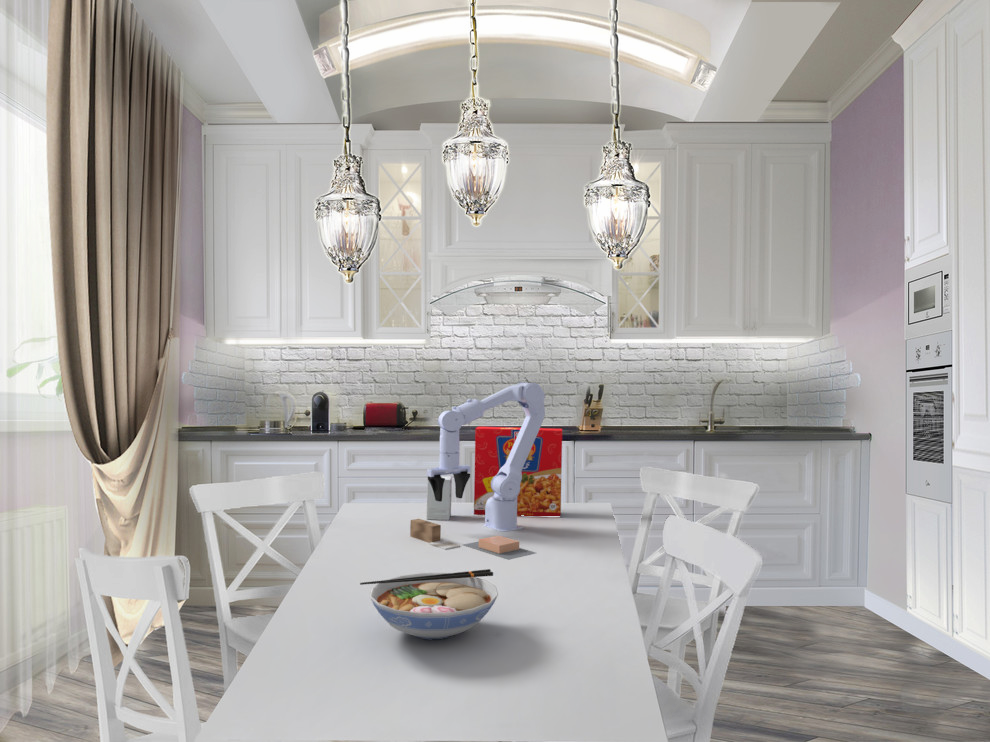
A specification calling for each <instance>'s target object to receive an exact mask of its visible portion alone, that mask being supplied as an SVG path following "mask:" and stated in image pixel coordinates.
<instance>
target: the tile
mask: <svg viewBox="0 0 990 742" xmlns="http://www.w3.org/2000/svg"><path fill="white" fill-rule="evenodd" d="M478 541H479V547H480V548H482V549H485V550H488V551H492V552H495V553H498V554H502V553H506V552H511V551H515V550H518V549H519V548H520V540H516V539H512V538H509V537H506V536H502V535H493V536H490V537H483V538H478Z"/></svg>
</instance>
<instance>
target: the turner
mask: <svg viewBox="0 0 990 742" xmlns="http://www.w3.org/2000/svg"><path fill="white" fill-rule="evenodd" d="M409 526H410V527H409V528H410V529H409V530H410V533H409V534H410V535H409V537H410V538H414V539H416V540H420V541H423V542H426V543H428V545H429V546H432V547H435V548H439V549H442V550H445V551H446V550H451V549H455V548H460V547H461V544H457V543H454V542H450V541H448V540H444V539H442V540H441V535H442V534H441V531H442V530H441V529H442V528H441V527H442V526H441V524H439V523H434V522H431V521H427V520H425V519H421V518H416V519H410V525H409Z"/></svg>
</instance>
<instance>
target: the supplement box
mask: <svg viewBox="0 0 990 742" xmlns="http://www.w3.org/2000/svg"><path fill="white" fill-rule="evenodd" d="M440 476H441V478H445V481H444V484H443V491H442V501H441V502H439V501H435V496H434V492H433V489H432V486H431V484H430V482H429V480H428V479H427V481H426V482H427V484H426V520H434V521H435V520H436V521H441V520H442V521H449V520H450V517H451V515H452V483H453V477H452V476H450V475H449V476H447V475H440Z"/></svg>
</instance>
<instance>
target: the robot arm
mask: <svg viewBox="0 0 990 742" xmlns="http://www.w3.org/2000/svg"><path fill="white" fill-rule="evenodd" d="M545 399H546V394H545V392H544V391H543V389H542V386H540V384H538V383H537V382H525V381H521V382H518V383H517V384H512V385H509V386H507V387H504V388H503V389H501V390H499V391H497V392H495V393H493V394H491V395H489V396H487V397H485V398H482V399H481V400H479V399H477V398H473V399H472V398H468V399H466V402H465V403H462V404H460V405H458V406H454V405H453V406H451V409H452V410H444V411H443V412H440V415H439V416H438V419H437V425H438V427H439V428H440V429H439V430H440V431H439V466H438V467H433V468H428V469H427V470H426V477H427V480H429V482H430V484H431V486H432V489H433V492H434V496H435V501H439V502H441V501H442V491H443V484H444V481H445V478H441V476H447V475H453V478H454V479H453V481H454V484H455V492H454V493H455V498H457V499H463V495H464V492H465V489H466V486H467V484H468V481H469V480H470V478H471V465H469V464H465V465H462V464H461V465H460V440H461V439H460V429H461V428H462V427H463V426H465V425H467V424H470V423H472V422H474V421H476V420H478V419H480V418H483V416H484V415H485V412H486V411H487V410H491V409H492V408H495V407H497V406H499V405H501V404H505V403H507V402H510V401H512V402H517V403H518V404H519V405H520V406H521V407H522V409H523V412H524V414H525V417H524V420H523V422H522V425H521V427H520V428H521V429H520V431H519V434H518V436H517V438H516V440H515V443H514V445H513V447H512V450H511V452H510V454H509V456H508V459H507V461H506V463H505V465H503V466H502V467H501V468H500V470H499V472H498V474H497V475H496V476H494V478H493V479H492V481H491V488H492V490H493V491H494V492H495V493H494V496H493V497H490V498H489V499H488V500H487V502H486V506H485V515H484V518H485V519H484V524H483V525H482V526H483V527H485V528H489V529H492V530H495V531H499V532H503V533H505V532H509V531H515V530H523V529H524V527H523V526H521V525H518V522H517V521H518V516H517V496H518V494H519V492H520V483H521V480H522V472H521V471H522V468H523V466H524V464H525V461H526V459H527V457H528V455H529V452H530V450H531V448H532V445H533V443H534V441H535V438H536V436H537V434H538V432H539V429H540V428H542V425H543V422H544V420H545V416H546V412H545V409H546V407H545Z"/></svg>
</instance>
